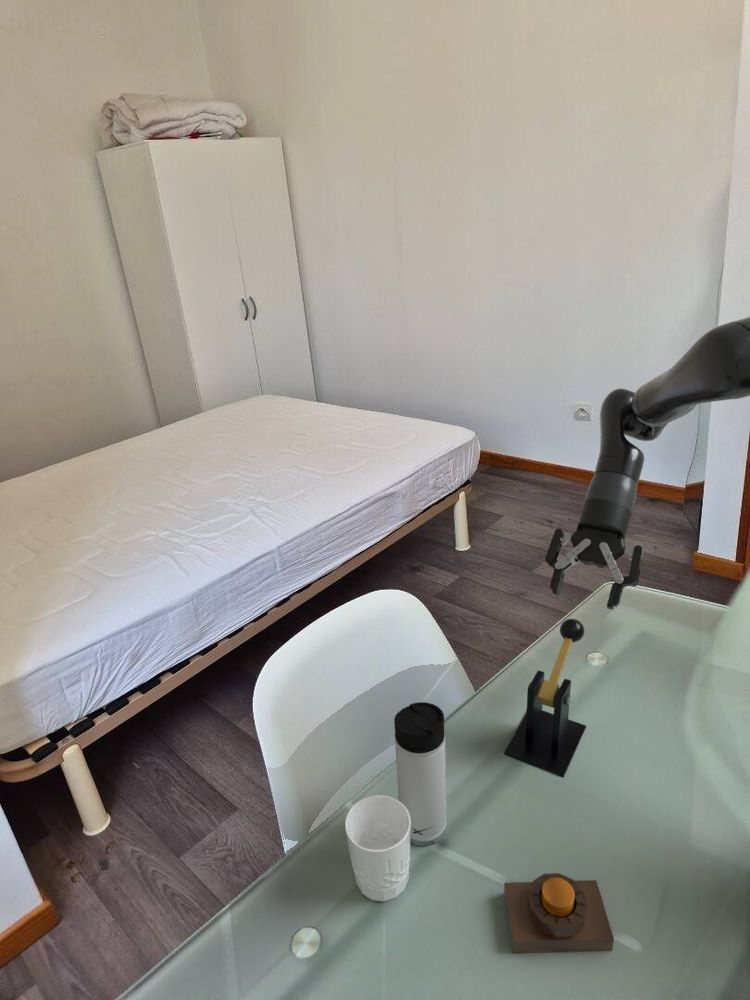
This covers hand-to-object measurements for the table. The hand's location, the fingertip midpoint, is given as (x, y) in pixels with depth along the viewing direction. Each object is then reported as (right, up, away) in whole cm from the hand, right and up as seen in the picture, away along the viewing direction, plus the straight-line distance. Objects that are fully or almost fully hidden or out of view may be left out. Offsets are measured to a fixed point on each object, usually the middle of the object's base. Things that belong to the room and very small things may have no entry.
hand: (582, 601), depth 107 cm
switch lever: (-4, -9, -3) cm, 11 cm away
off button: (-11, -30, -29) cm, 43 cm away
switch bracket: (-6, -21, -3) cm, 23 cm away
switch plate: (-11, -33, -27) cm, 44 cm away
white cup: (-31, -32, -21) cm, 49 cm away
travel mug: (-26, -29, -15) cm, 41 cm away
